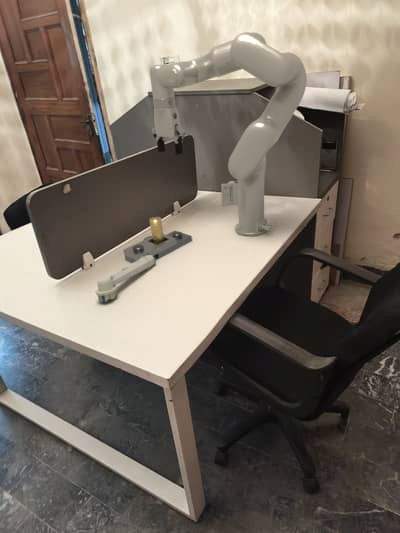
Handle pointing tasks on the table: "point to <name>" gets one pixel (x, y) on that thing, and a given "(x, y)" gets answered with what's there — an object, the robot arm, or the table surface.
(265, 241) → the table surface
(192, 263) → the table surface
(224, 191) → the hinge
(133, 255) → the plate
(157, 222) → the brass pin
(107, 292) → the toothbrush head
